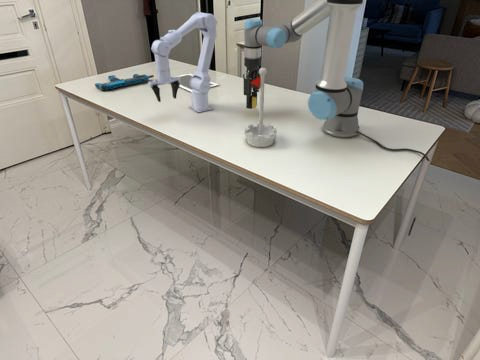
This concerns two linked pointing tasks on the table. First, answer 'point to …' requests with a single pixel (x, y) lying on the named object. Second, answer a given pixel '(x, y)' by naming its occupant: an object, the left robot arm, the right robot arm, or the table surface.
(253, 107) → the tin
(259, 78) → the flag stand
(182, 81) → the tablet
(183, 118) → the table surface
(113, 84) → the submachine gun
